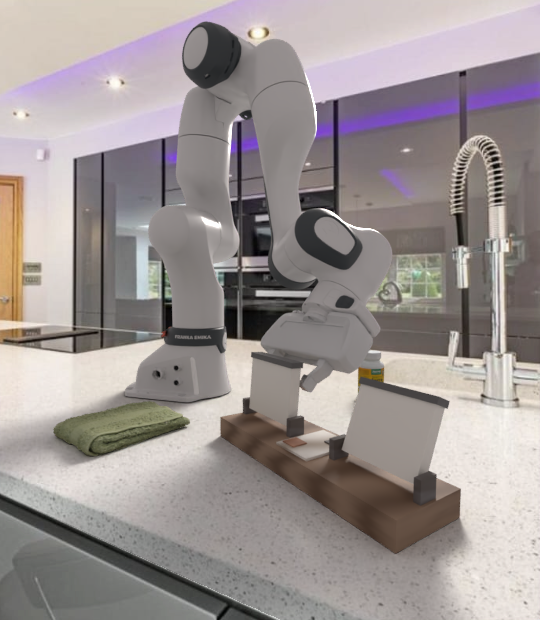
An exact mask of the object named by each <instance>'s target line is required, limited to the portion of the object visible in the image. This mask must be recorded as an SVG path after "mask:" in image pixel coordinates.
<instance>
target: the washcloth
mask: <svg viewBox="0 0 540 620" xmlns="http://www.w3.org/2000/svg"><path fill="white" fill-rule="evenodd" d="M183 415H184V414H182V413H180V412H178V411H175V410H173V409H171V408H170V407H169V406H167V405H159V404H158V403H156V402H155V401H152V400H151V401H150V400H147V401H139V402H131V403H126V404H122V405H119V406H116V407H111V408H107V409H106V410H101V411H97V412H90V413H84V414H82V415H77V416H72V417H69V418H66V419H65V420H63V421H61V422H58V423H57V424H56V425H55V426H54V427H53V429H52V430H53V434H54V436H55V437H57V438H58V439H60V440H63V441H65V442H66V443H68V445H73V446H74V447H77V450H79V451H81V453H84V454H85V456H90V457H98V456H102V455H103V454H107V453H111V452H114V451H118V450H121V449H125V448H127V447H129V446H131V445H136V444H139V443H142V442H144V441H147V440H148V439H152V438H154V437H158V436H160V435H163V434H166V433H169V432H171V431H175V430H179V429H183V428H184V426H185V427H186V426H188V425H190V424H191V421H190V419H189V418H188V417H186V416H183Z"/></svg>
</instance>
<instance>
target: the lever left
mask: <svg viewBox="0 0 540 620" xmlns="http://www.w3.org/2000/svg"><path fill="white" fill-rule="evenodd" d="M250 353H251V354H250V357H251V358H252V362H251V363H252V365H251V376H250V377H251V379H250V380H251V381H250V391H249V394H250V395H249V397H250V405H249V408H250V409H252V410H254V411H256V412H258V413H260V414H262V415H265V416H267V417H269V418H271V419H273V420H275V421H277V422H279V423H281V424H283V425H285V426H287V418H291V417H296V416H299V414H298V411H299V398H300V380H301V372H302V371H301V369H303V368H304V363H303V362H300V361H296V360H292V359H288V358H284V357H280V356H276V355H272V354H269V353H267V352H266V351H265V352H264V351H251V352H250Z"/></svg>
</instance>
